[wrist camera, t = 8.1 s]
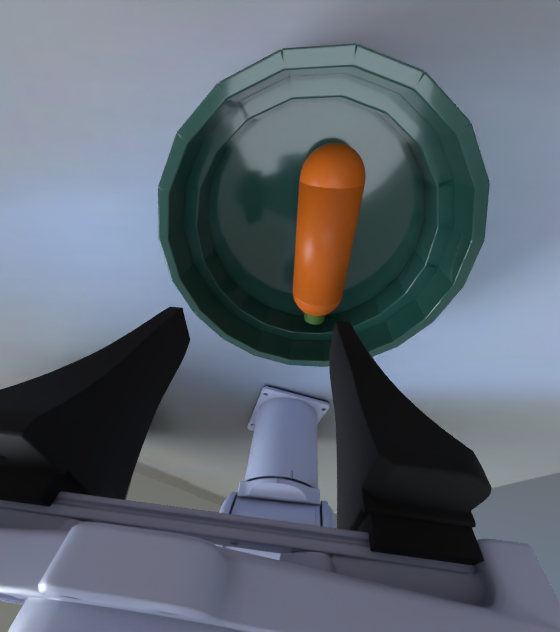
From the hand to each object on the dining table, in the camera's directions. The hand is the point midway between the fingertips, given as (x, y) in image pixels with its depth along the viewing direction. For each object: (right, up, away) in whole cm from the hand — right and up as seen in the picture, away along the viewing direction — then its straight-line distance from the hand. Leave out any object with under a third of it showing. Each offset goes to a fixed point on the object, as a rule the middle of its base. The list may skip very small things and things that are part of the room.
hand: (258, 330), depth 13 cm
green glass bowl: (+3, +7, +6) cm, 10 cm away
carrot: (+3, +6, +6) cm, 9 cm away
